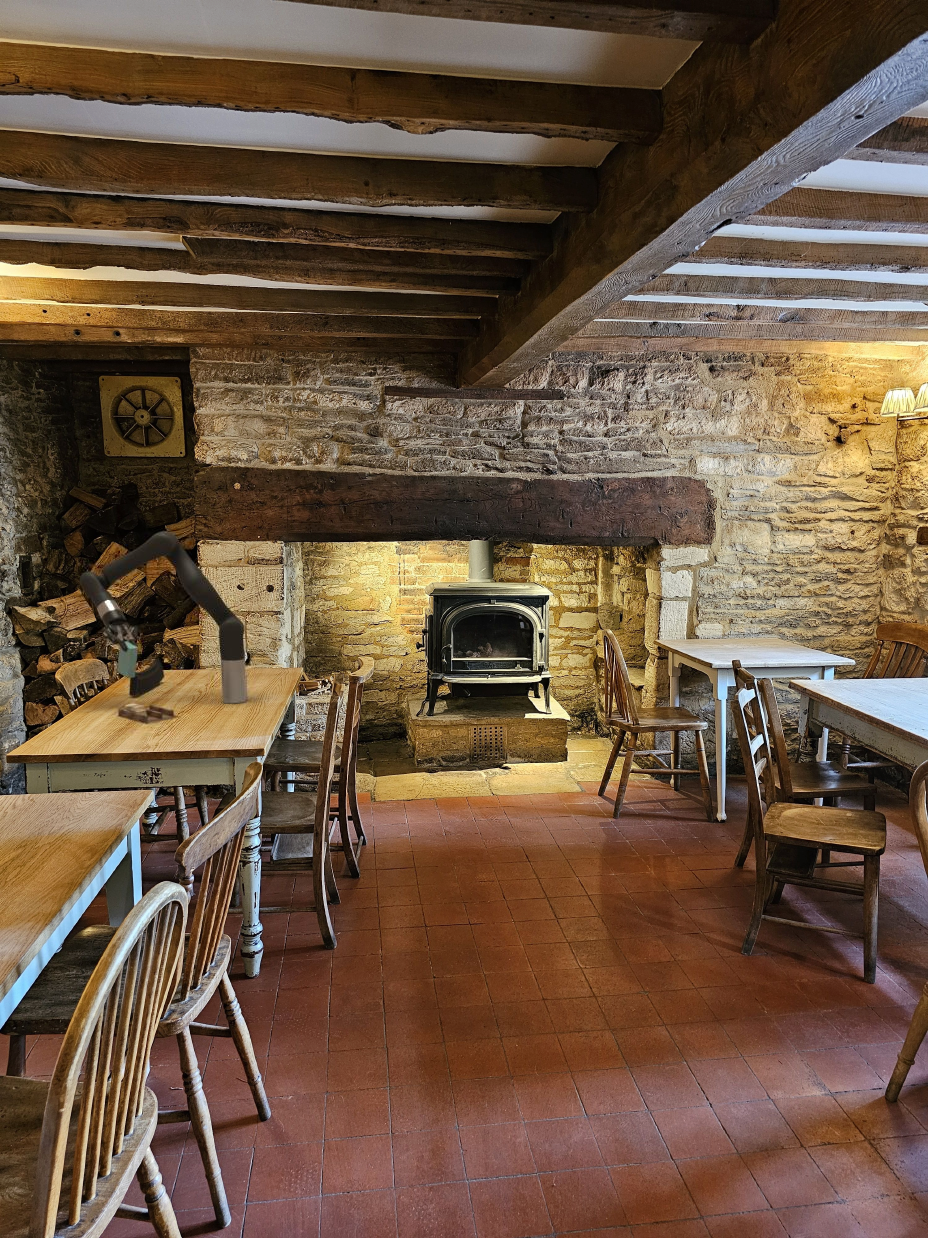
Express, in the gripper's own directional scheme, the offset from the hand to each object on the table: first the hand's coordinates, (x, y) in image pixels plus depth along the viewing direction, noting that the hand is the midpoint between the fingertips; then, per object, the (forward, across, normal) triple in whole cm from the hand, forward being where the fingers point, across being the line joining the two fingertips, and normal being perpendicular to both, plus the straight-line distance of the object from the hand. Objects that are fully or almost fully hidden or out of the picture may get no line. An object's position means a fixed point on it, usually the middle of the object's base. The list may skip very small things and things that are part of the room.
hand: (130, 649), depth 302 cm
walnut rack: (+27, -3, +7) cm, 28 cm away
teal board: (+4, 0, +10) cm, 11 cm away
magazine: (-5, +25, +39) cm, 47 cm away
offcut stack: (+24, -6, +8) cm, 26 cm away
